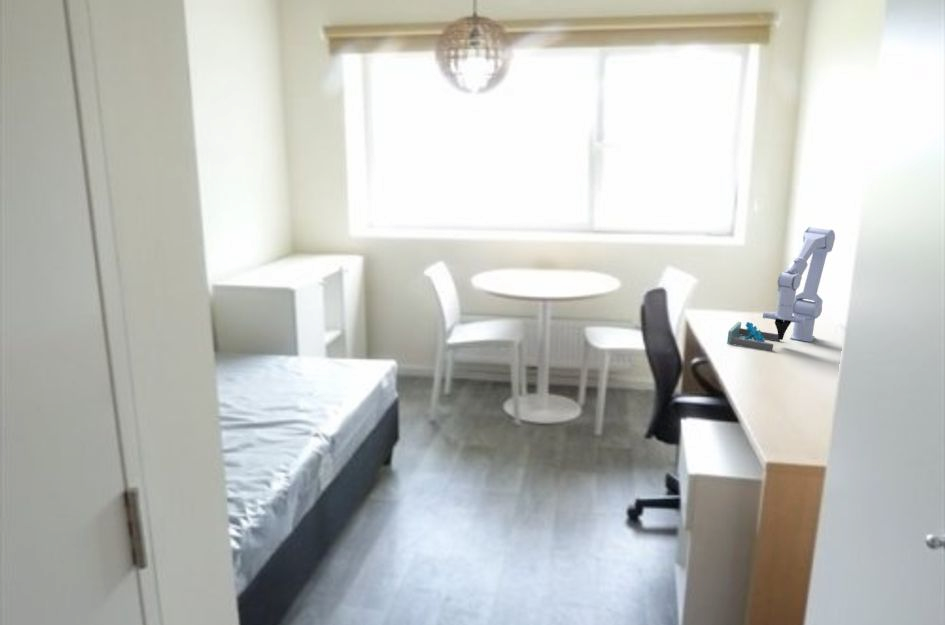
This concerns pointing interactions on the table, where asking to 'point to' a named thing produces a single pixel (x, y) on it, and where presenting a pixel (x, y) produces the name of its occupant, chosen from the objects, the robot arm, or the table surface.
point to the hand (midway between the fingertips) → (780, 339)
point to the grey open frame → (749, 343)
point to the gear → (754, 333)
